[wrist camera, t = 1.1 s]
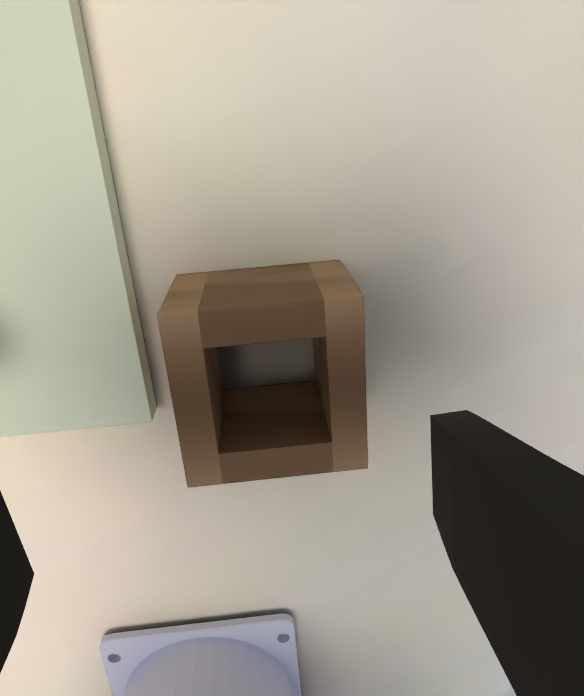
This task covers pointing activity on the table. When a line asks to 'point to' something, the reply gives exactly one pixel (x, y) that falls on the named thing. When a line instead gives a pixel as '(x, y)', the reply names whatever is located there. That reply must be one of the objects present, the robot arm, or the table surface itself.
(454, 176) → the table surface
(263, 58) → the table surface
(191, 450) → the wooden block with hole
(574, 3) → the table surface
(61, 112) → the pale green peg board
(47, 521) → the table surface
